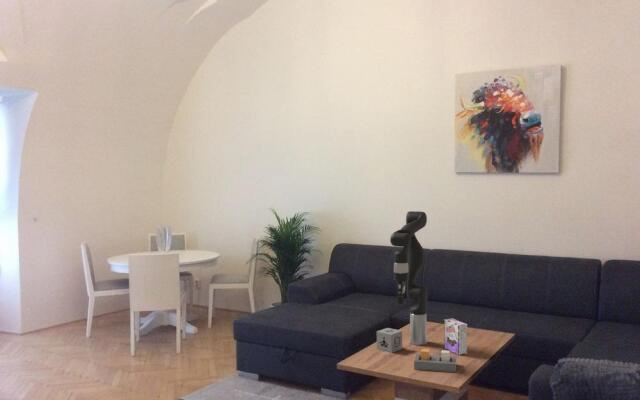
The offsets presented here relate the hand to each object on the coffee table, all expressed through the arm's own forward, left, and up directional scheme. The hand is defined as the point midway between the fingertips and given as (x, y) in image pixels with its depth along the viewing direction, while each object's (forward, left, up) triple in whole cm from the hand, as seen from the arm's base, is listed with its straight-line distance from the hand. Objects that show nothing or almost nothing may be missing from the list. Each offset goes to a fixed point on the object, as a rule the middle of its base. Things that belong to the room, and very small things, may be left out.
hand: (401, 302), depth 302 cm
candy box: (-19, +27, -30) cm, 45 cm away
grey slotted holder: (+9, +18, -30) cm, 36 cm away
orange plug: (+9, +13, -29) cm, 33 cm away
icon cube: (-16, -9, -30) cm, 35 cm away
